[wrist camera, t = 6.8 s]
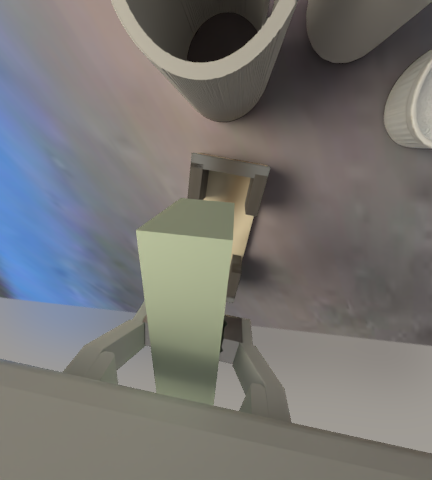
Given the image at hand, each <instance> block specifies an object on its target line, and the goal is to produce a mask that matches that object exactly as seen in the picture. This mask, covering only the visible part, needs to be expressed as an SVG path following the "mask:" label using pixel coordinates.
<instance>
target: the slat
mask: <svg viewBox="0 0 432 480" xmlns="http://www.w3.org/2000/svg"><path fill="white" fill-rule="evenodd" d="M234 206H235V203H230V202H219V201H208V200H197V199H186V198H181V199H179V200H178V201H176V202H175V203H174V204H172V205H171V206H169V207H168V208H166V209H165V210H164V211H162V212H161V213H159V214H158V215H157V216H155V217H154V218H152V219H151V220H150V221H148V222H147V223H145V224H144V225H143V226H141V227H140V228H138V229H137V230H136V234H137V242H138V250H139V258H140V266H141V274H142V282H143V289H144V297H145V305H146V313H147V321H148V329H149V337H150V345H151V353H152V360H153V368H154V376H155V383H156V392H157V393H158V394H163V395H167V396H172V397H176V398H181V399H186V400H190V401H195V402H199V403H204V404H208V405H213V404H214V397H215V388H216V379H217V371H218V363H219V354H220V346H221V337H222V329H223V320H224V312H225V303H226V295H227V286H228V278H229V270H230V261H231V253H232V244H233V228H234Z"/></svg>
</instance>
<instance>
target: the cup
mask: <svg viewBox="0 0 432 480" xmlns="http://www.w3.org/2000/svg"><path fill="white" fill-rule="evenodd" d="M269 2H270V0H111V3H112V5H113V7H114V10H115V12H116V13H117V16H118V18H119V20H120V22H121V23H122V25H123V27H124V28H125V30H126V31H127V33H128V34H129V36H130V37H131V39H132V40H133V41H134V43H135V44H136V46H137V47H138V48H139V49H140V51H141V52H142V53H143V54H144V55H145V56H146V57H147V58H148V59H149V60H150V61H151V62H152V63H153V64H154V66H155V67H156V68H157V69H158V70H159V71H160V72H161V73H162V74H163V75H164V76H165V77H166V78H167V80H168V81H169V82H170V83H171V84H172V85H173V86H174V87H175V88H176V89H177V90H178V91H179V92H180V93H181V95H182V96H183V97H184V98H185V99H186V100H187V101H188V102H189V103H190V104H191V105H192V106H193V107H194V108H195V109H196V111H197V112H199V113H200V114H201V115H203V116H205V117H206V118H208V119H210V120H214V121H216V122H228V121H233V120H236V119H238V118H240V117H241V116H244V115H245V114H246V113H248V112H249V111H250V110H251V109H252V108H253V107H254V106H255V105H256V103H257V102H258V101H259V99H260V98H261V96H262V94H263V92H264V90H265V88H266V86H267V83H268V80H269V78H270V75H271V72H272V70H273V67H274V64H275V62H276V59H277V56H278V53H279V51H280V48H281V45H282V43H283V40H284V37H285V35H286V32H287V29H288V26H289V24H290V21H291V18H292V16H293V13H294V10H295V8H296V5H297V2H298V0H275V1H274V6H273V10H272V14H271V16H270V18H269V17H267V12H268V7H269ZM218 13H237V14H239V15H241V16H243V17H244V18H246V19H247V20H248V21H250V22H251V23H252V25H253V26H254V27H255V29H256V30H257V32H258V33H257V34H256V35H255V36H254V37H253V38H252V40H250V41H248V43H246V44H245V46H243V48H242V47H241V48H240V49H239V50H238V51H236V52H234V54H233V53H232V54H231V55H229V56H226V57H225V58H223V59H219V60H218V61H217V60H216V61H214V62H213V61H210V62H208V63H207V62H204V63H203V62H202V63H200V62H199V63H198V62H197V63H194V62H193V63H192V62H189V61H187V56H188V55H187V54H188V51H189V50H188V49H189V47H190V43H191V41H192V39H193V36H194V35H195V33H196V32H197V30H198V29H199V28H200V27H201V25H202V24H204V22H205V21H207V20H208V19H209V18H211V17H212V16H214V15H216V14H218Z"/></svg>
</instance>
